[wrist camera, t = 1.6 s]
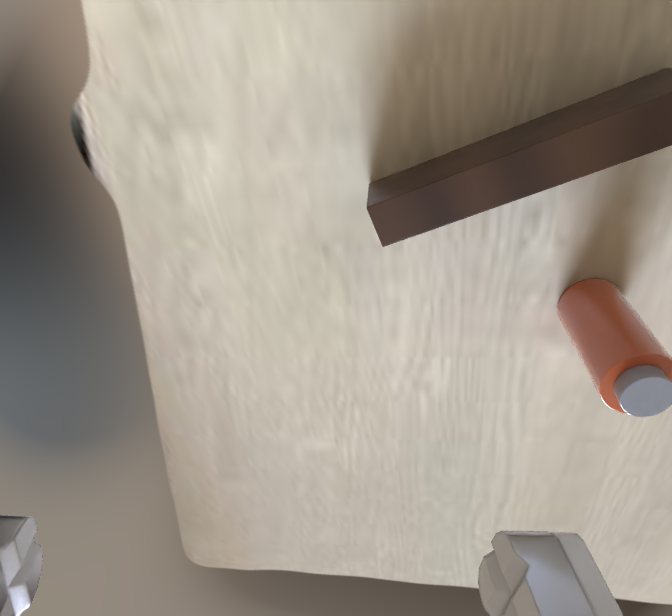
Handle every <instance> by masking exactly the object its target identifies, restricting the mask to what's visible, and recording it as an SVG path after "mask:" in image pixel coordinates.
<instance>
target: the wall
mask: <svg viewBox="0 0 672 616" xmlns="http://www.w3.org/2000/svg"><path fill="white" fill-rule="evenodd" d="M671 145H672V69H671V68H665V69H663V70H660V71H658V72H655V73H653V74H650V75H647V76H645V77H642V78H640V79H637V80H635V81H632V82H629V83H627V84H624V85H622V86H619V87H617V88H614V89H612V90H609V91H606V92H604V93H601V94H599V95H596V96H594V97H591V98H588V99H586V100H583V101H581V102H578V103H576V104H573V105H570V106H568V107H565V108H563V109H560V110H558V111H555V112H553V113H550V114H547V115H545V116H542V117H540V118H537V119H535V120H532V121H529V122H527V123H524V124H522V125H519V126H517V127H514V128H511V129H509V130H506V131H504V132H501V133H499V134H496V135H494V136H491V137H488V138H486V139H483V140H481V141H478V142H476V143H473V144H470V145H468V146H465V147H463V148H460V149H458V150H455V151H452V152H450V153H447V154H445V155H442V156H440V157H437V158H434V159H432V160H429V161H427V162H424V163H422V164H419V165H417V166H414V167H411V168H409V169H406V170H404V171H401V172H399V173H396V174H393V175H391V176H388V177H386V178H383V179H381V180H378V181H375V182H373V183H370V184H369V191H368V200H367V210H368V212H369V215H370V217H371V220H372V222H373V224H374V227H375V229H376V232H377V234H378V237H379V239H380V241H381V244H382V246H383V247H385V246H388V245H391V244H393V243H396V242H399V241H402V240H405V239H408V238H410V237H413V236H416V235H419V234H422V233H425V232H427V231H430V230H433V229H436V228H439V227H441V226H444V225H447V224H450V223H453V222H456V221H458V220H461V219H464V218H467V217H470V216H473V215H475V214H478V213H481V212H484V211H487V210H490V209H492V208H495V207H498V206H501V205H504V204H507V203H509V202H512V201H515V200H518V199H521V198H524V197H526V196H529V195H532V194H535V193H538V192H541V191H543V190H546V189H549V188H552V187H555V186H558V185H560V184H563V183H566V182H569V181H572V180H575V179H577V178H580V177H583V176H586V175H589V174H592V173H594V172H597V171H600V170H603V169H606V168H609V167H611V166H614V165H617V164H620V163H623V162H626V161H628V160H631V159H634V158H637V157H640V156H643V155H645V154H648V153H651V152H654V151H657V150H660V149H662V148H665V147H668V146H671Z"/></svg>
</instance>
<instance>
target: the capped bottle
mask: <svg viewBox="0 0 672 616" xmlns="http://www.w3.org/2000/svg"><path fill="white" fill-rule="evenodd" d="M558 316H559V318H560V320H561V322H562V324H563V326H564V328H565V330H566V332H567V334H568V336H569V338H570V340H571V341H572V343H573V345H574V347H575V349H576V351H577V353H578V355H579V357H580V359H581V361H582V363H583V364H584V366H585V368H586V370H587V372H588V374H589V376H590V378H591V380H592V382H593V384H594V386H595V387H596V389H597V391H598V393H599V395H600V397H601V399H602V401H603V402H604V403H605V404H606V405H607V406H608V407H610V408H611V409H613V410H615V411H618V412H621V413H626V414H630V415H632V416H636V417H649V416H654V415H657V414H659V413H661V412H663V411H665V410H666V409H668V408H669V407H670V406H671V405H672V357H671V356H670V355H669V354H668V352H667V351H666V350H665V348H664V347H663V346H662V344H661V343H660V342H659V341H658V339H657V338H656V337H655V335H654V334H653V333H652V332H651V330H650V329H649V328H648V326H647V325H646V324H645V322H644V321H643V320H642V319H641V317H640V316H639V315H638V313H637V312H636V311H635V310H634V308H633V307H632V306H631V304H630V303H629V302H628V300H627V299H626V298H625V297H624V295H623V294H622V293H621V291H620V290H619V289H618V288H617V287H616V286H615V285H614V284H613V283H611V282H609V281H607V280H603V279H587V280H583V281H580V282H578V283H576V284H574V285H573V286H571V287H570V288H568V289H567V290H566V291H565V293H564V294H563V295H562V297H561V298H560V301H559V303H558Z"/></svg>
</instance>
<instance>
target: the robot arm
mask: <svg viewBox="0 0 672 616" xmlns="http://www.w3.org/2000/svg"><path fill="white" fill-rule="evenodd" d="M36 532H37V526H36V522H35V519H34V517H25V516H2V515H0V616H19V615H20V614H21V613H23V612H24V611H25V610H26V609H27V608H28V607H29V606H30V605H31V603H32V601H33V598H34V595H35V593H36V590H37V588H38V584H39V579H40V575H41V571H42V558H43V555H42V549H41V546H40V545H39V544H38V543H36V542H35V541H34V540H33V539H34V536H35V534H36ZM491 543H492V546H493V548H494V550H493V551H492V552H490V553H489V554H487V555H486V556H484V558H483V560H482V562H481V564H480V567H479V577H478V584H479V591H480V596H481V600H482V603H483V606H484V609H485V610H486V611H487V612H488V613H489V614H490V615H491V616H623V614H622V612H621V610H620V608H619V606H618V605H617V603H616V601H615V599H614V597H613V595H612V593H611V591H610V589H609V588H608V586H607V584H606V582H605V580H604V578H603V576H602V574H601V572H600V571H599V569H598V567H597V565H596V563H595V561H594V559H593V557H592V555H591V554H590V552H589V550H588V548H587V546H586V544H585V542H584V540H583V539H582V538H581V537H580V536H579V535H578V534H576V533H564V532H548V531H500V532H498V533H496V534H495V536H494V538H493V540H492V542H491Z"/></svg>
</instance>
